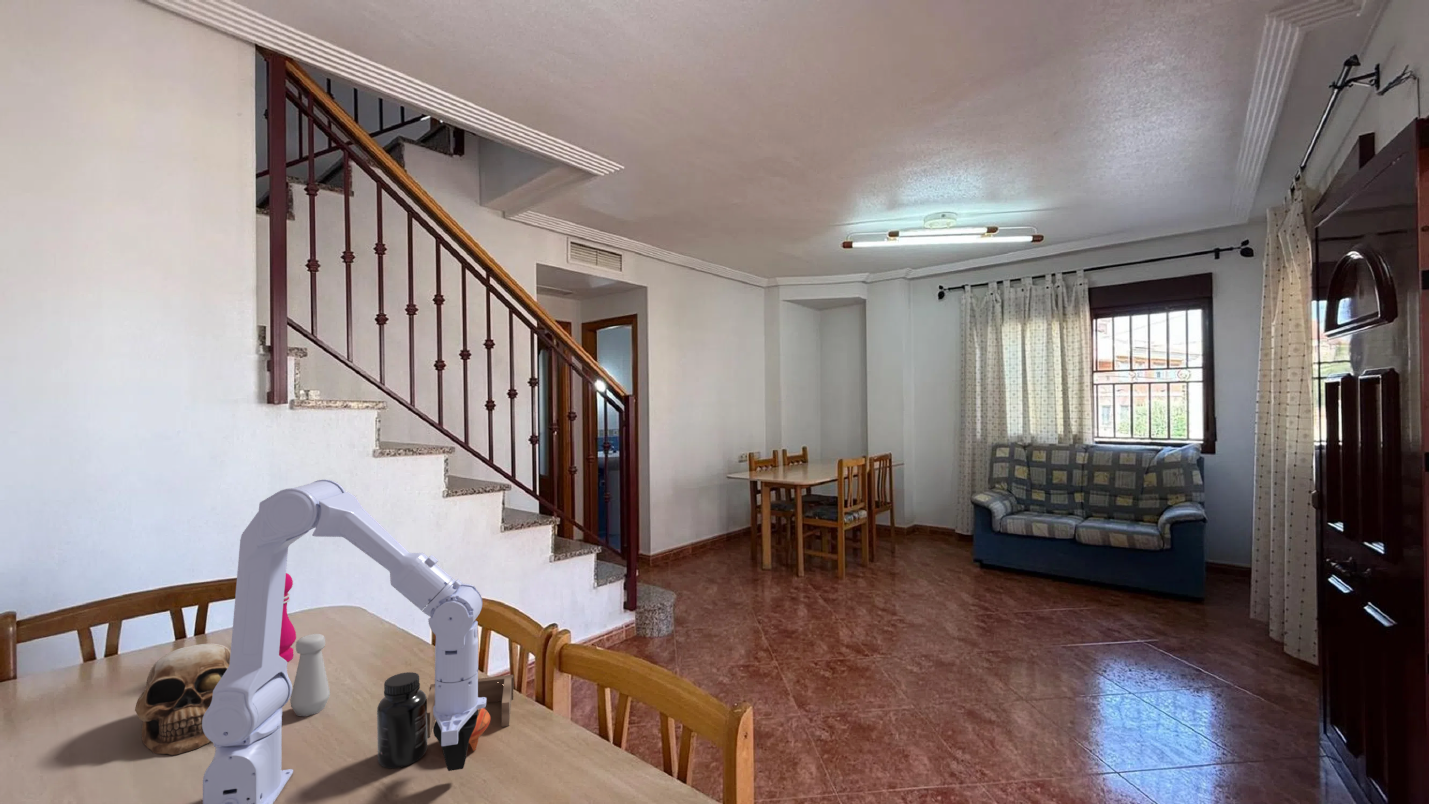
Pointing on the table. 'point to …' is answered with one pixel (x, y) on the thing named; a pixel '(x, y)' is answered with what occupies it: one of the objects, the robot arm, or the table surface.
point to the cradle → (485, 689)
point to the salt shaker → (310, 677)
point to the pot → (479, 727)
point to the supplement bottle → (402, 721)
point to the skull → (180, 697)
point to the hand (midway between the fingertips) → (456, 767)
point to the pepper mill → (287, 625)
